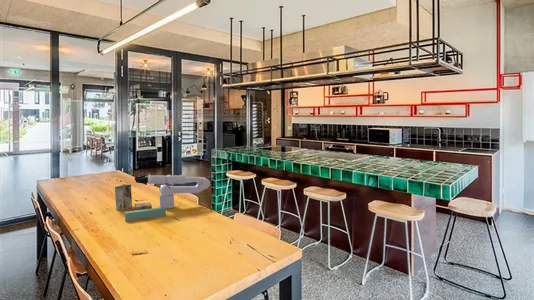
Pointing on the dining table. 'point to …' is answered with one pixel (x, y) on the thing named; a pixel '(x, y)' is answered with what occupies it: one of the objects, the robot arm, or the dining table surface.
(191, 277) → the dining table surface
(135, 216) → the teal board
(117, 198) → the coffee box
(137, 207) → the walnut block
